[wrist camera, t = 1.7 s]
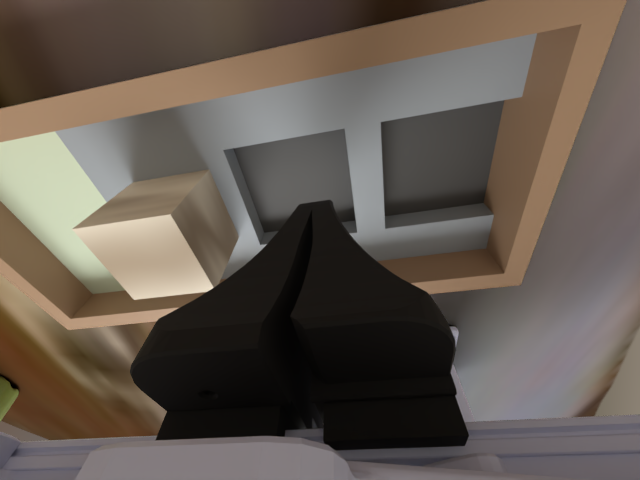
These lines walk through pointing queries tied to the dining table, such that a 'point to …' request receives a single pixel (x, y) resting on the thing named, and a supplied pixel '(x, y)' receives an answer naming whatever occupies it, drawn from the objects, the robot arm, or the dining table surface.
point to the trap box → (320, 149)
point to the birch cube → (163, 235)
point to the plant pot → (6, 396)
